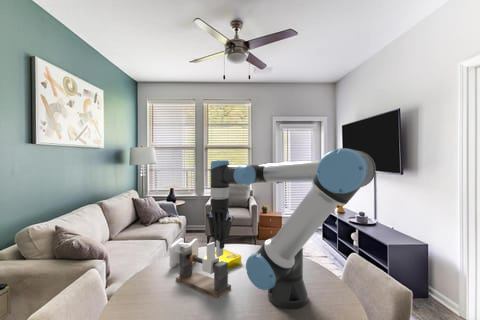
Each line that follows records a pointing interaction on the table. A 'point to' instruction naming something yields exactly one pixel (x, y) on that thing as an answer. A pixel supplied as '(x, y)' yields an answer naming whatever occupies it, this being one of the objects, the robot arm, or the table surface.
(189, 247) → the cord rack
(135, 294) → the table surface
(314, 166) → the robot arm
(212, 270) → the sleeve
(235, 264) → the element tile
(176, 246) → the cable organizer
